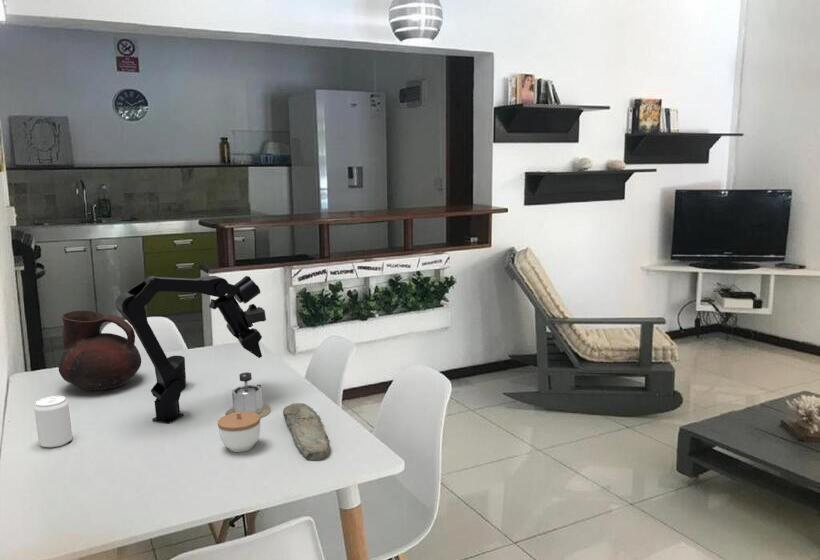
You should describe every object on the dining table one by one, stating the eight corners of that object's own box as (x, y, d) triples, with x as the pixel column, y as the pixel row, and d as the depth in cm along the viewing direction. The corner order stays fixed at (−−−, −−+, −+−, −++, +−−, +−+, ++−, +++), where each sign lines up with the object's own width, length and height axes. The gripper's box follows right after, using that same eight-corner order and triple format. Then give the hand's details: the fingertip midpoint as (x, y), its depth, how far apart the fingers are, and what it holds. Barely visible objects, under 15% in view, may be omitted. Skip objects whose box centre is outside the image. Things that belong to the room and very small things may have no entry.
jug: (117, 400, 215) (108, 323, 210) (44, 397, 219) (34, 322, 214) (157, 374, 239) (150, 304, 235) (92, 372, 243) (84, 304, 239)
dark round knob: (249, 396, 197) (247, 378, 196) (233, 394, 199) (232, 376, 198) (259, 390, 202) (258, 372, 201) (244, 388, 204) (242, 370, 203)
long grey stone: (297, 470, 168) (337, 465, 171) (298, 450, 167) (338, 445, 170) (277, 412, 200) (311, 409, 204) (277, 395, 199) (311, 392, 203)
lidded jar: (218, 442, 182) (215, 409, 180) (258, 435, 185) (256, 403, 184) (222, 459, 172) (219, 424, 170) (265, 451, 176) (262, 417, 174)
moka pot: (254, 423, 194) (252, 399, 192) (216, 418, 198) (214, 395, 197) (279, 406, 206) (277, 384, 204) (242, 402, 210) (240, 380, 209)
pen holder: (162, 384, 228) (159, 356, 227) (190, 383, 229) (188, 355, 227) (153, 394, 219) (150, 364, 217) (182, 393, 220) (179, 363, 218)
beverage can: (35, 450, 180) (29, 407, 177) (43, 438, 187) (37, 397, 185) (69, 446, 182) (64, 403, 179) (75, 434, 189) (70, 393, 187)
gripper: (264, 306, 202) (287, 347, 208) (246, 290, 217) (269, 329, 224) (231, 326, 198) (256, 368, 205) (215, 309, 214) (239, 348, 221)
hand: (256, 352), depth 214 cm, fingers open, 9 cm apart
